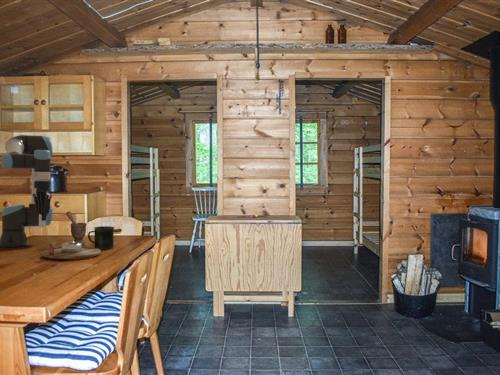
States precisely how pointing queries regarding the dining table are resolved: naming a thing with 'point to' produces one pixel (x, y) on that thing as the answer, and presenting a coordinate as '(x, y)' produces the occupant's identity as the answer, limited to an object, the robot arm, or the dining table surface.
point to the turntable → (59, 255)
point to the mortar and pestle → (77, 229)
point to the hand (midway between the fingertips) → (42, 226)
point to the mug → (103, 237)
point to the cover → (71, 247)
